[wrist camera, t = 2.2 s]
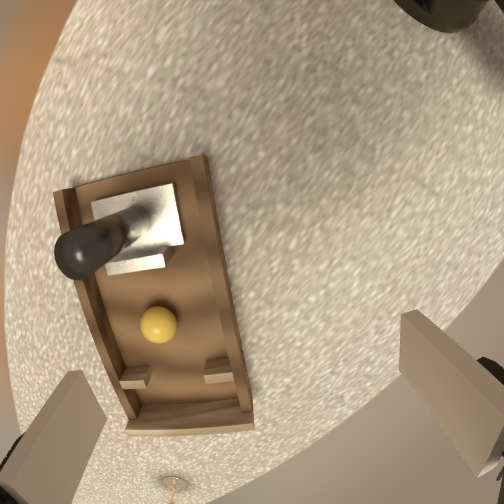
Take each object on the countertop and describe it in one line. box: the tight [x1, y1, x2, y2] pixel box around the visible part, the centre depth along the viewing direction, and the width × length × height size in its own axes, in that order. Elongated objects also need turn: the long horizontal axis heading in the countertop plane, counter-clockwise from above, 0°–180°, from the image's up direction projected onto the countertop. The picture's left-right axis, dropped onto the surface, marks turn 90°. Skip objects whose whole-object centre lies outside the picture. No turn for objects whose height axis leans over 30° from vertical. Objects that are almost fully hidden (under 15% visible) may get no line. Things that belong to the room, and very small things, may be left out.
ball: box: [140, 306, 177, 344], centre depth 32 cm, size 4×4×4 cm
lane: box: [53, 155, 254, 436], centre depth 32 cm, size 30×16×6 cm, turn 9°
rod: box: [54, 183, 185, 280], centre depth 25 cm, size 7×9×14 cm
